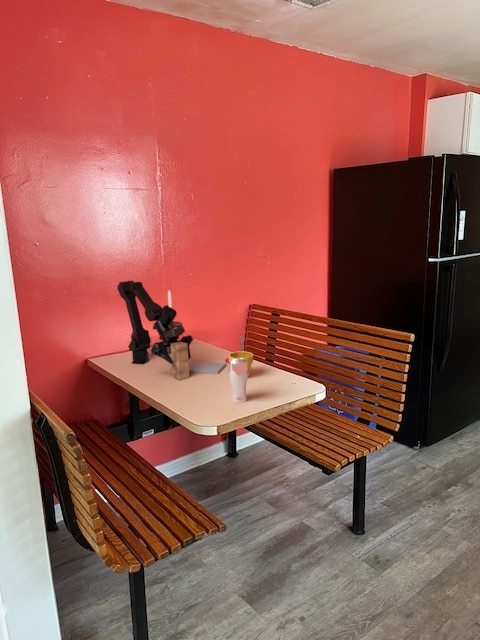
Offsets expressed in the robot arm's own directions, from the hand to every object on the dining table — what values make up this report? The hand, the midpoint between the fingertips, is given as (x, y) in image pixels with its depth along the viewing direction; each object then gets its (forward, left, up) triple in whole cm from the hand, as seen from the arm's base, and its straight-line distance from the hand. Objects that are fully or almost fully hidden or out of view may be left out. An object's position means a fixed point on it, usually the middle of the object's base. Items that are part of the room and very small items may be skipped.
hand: (181, 360), depth 202 cm
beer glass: (+30, -18, -8) cm, 36 cm away
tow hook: (+15, +28, -8) cm, 33 cm away
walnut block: (-1, 0, -8) cm, 8 cm away
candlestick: (-21, +38, -8) cm, 44 cm away
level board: (+4, +14, -8) cm, 16 cm away
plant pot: (+24, +7, -8) cm, 26 cm away
